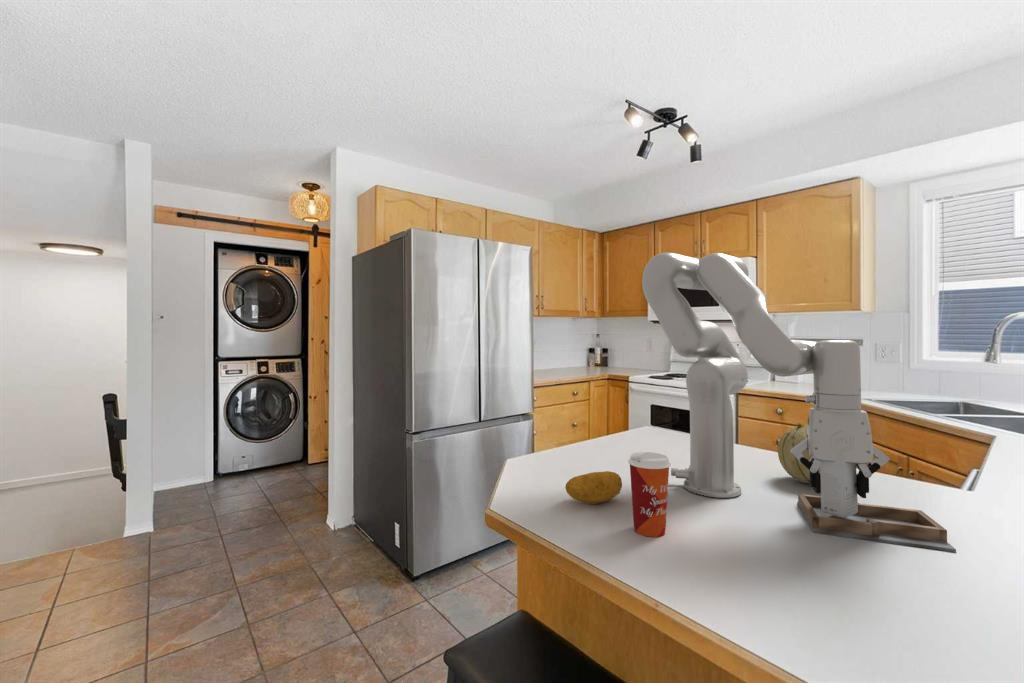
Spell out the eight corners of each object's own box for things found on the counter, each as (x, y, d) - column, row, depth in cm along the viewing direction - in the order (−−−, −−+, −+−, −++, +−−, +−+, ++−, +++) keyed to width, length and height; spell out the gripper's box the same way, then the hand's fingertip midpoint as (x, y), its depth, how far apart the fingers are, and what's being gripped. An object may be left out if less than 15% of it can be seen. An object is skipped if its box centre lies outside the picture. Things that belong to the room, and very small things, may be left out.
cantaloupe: (865, 491, 105) (864, 427, 105) (810, 494, 102) (809, 429, 102) (813, 473, 119) (812, 417, 119) (764, 476, 117) (763, 419, 117)
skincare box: (846, 519, 83) (845, 454, 84) (819, 511, 87) (818, 450, 87) (859, 512, 87) (858, 450, 87) (832, 505, 91) (831, 446, 91)
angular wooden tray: (813, 532, 82) (813, 518, 82) (797, 503, 97) (797, 492, 97) (956, 552, 74) (955, 537, 74) (914, 517, 89) (914, 505, 89)
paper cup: (649, 543, 78) (648, 463, 78) (619, 527, 85) (619, 454, 85) (681, 534, 82) (680, 458, 82) (650, 519, 88) (649, 449, 88)
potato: (631, 504, 97) (631, 473, 97) (575, 512, 92) (575, 479, 92) (611, 492, 104) (611, 464, 104) (559, 500, 100) (558, 469, 100)
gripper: (789, 403, 87) (790, 494, 87) (900, 407, 80) (902, 506, 80) (782, 398, 94) (784, 483, 94) (884, 402, 87) (886, 493, 87)
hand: (838, 492), depth 87 cm, fingers closed on skincare box, 6 cm apart
